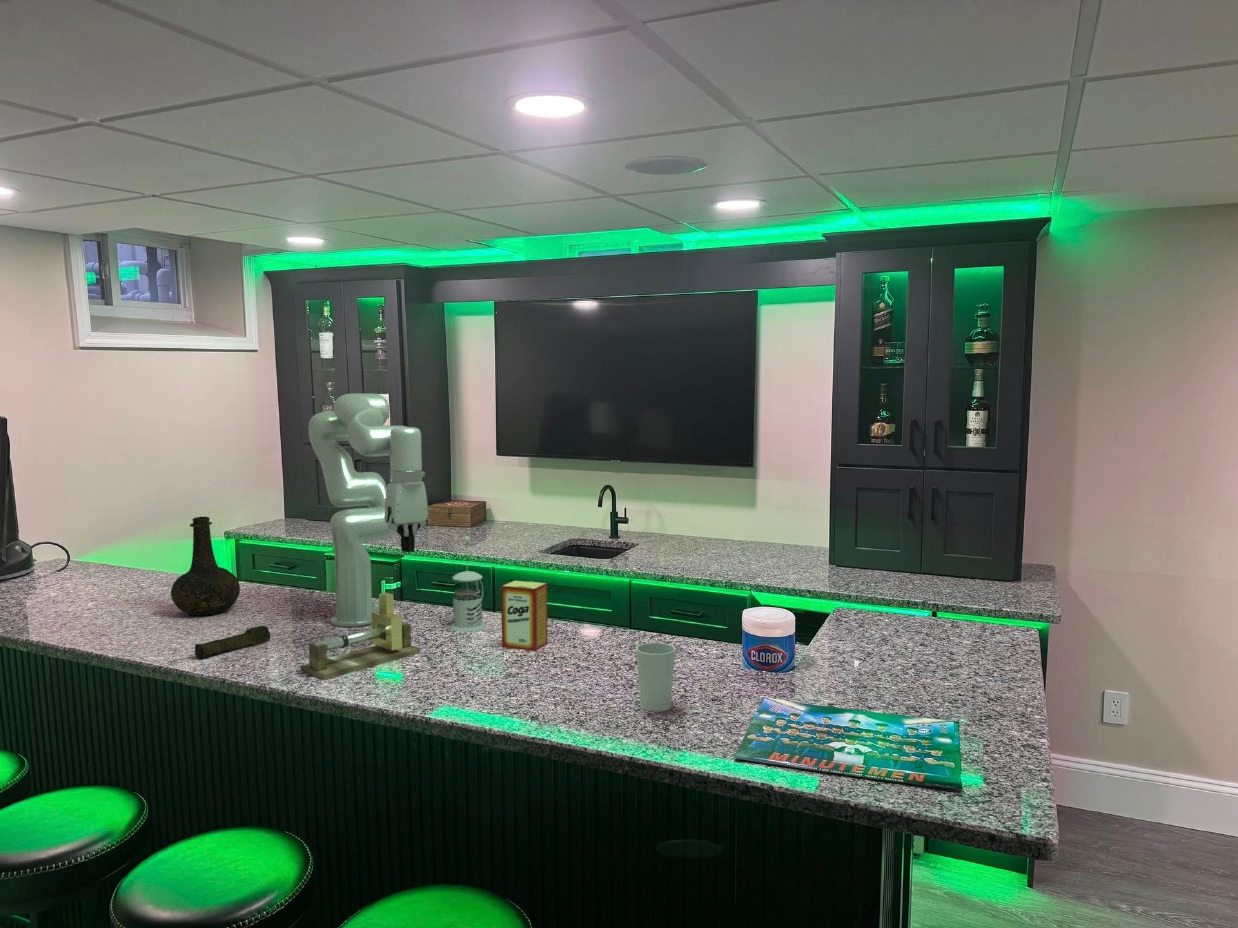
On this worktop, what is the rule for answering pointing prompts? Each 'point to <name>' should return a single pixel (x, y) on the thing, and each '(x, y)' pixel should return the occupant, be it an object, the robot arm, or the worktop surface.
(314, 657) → the pipe stand
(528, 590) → the baking soda box
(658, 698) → the cup
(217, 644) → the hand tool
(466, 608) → the french press
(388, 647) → the collar
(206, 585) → the glass bottle
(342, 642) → the pipe
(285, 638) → the worktop surface
